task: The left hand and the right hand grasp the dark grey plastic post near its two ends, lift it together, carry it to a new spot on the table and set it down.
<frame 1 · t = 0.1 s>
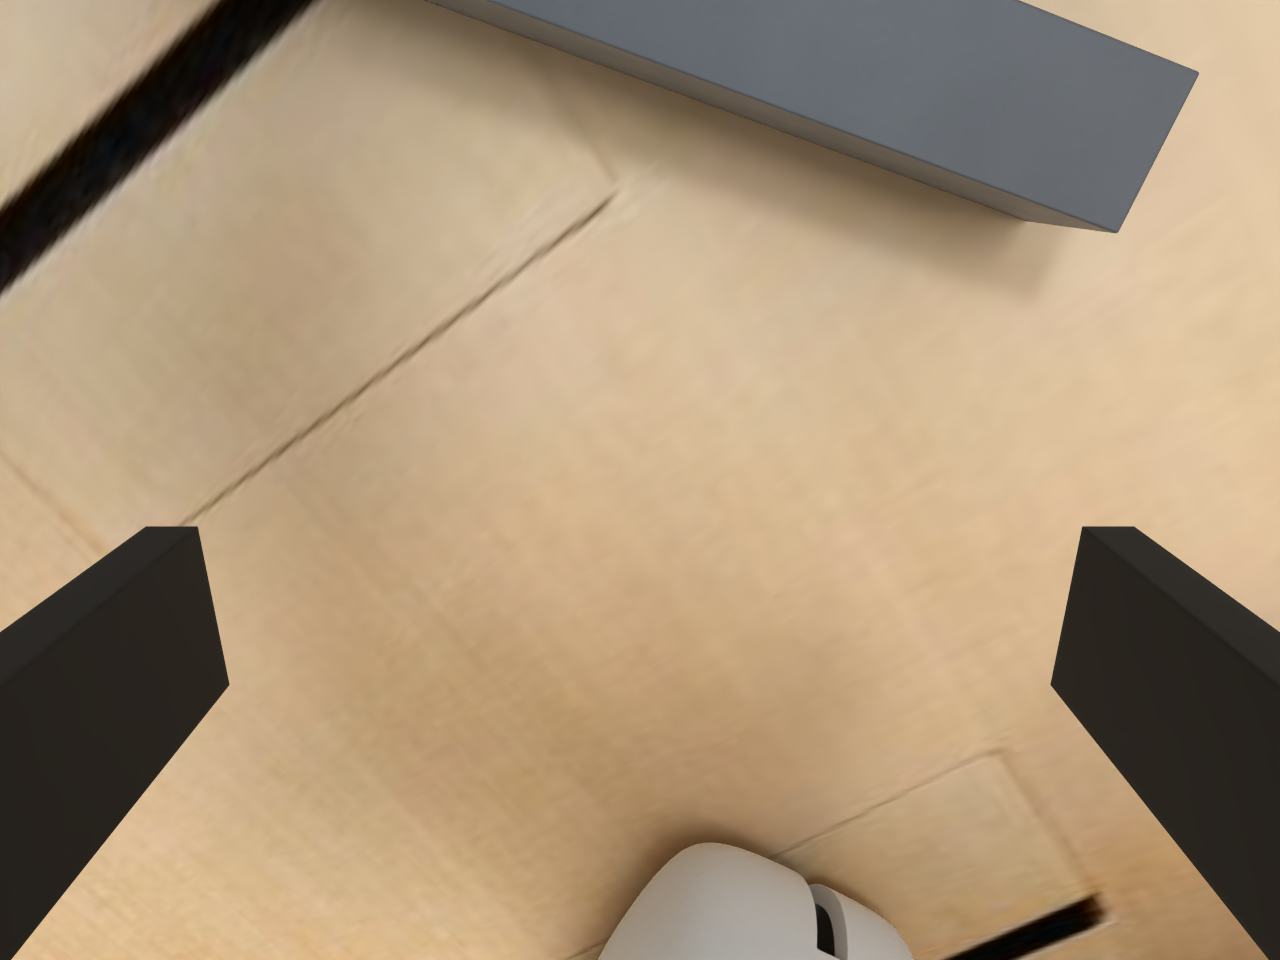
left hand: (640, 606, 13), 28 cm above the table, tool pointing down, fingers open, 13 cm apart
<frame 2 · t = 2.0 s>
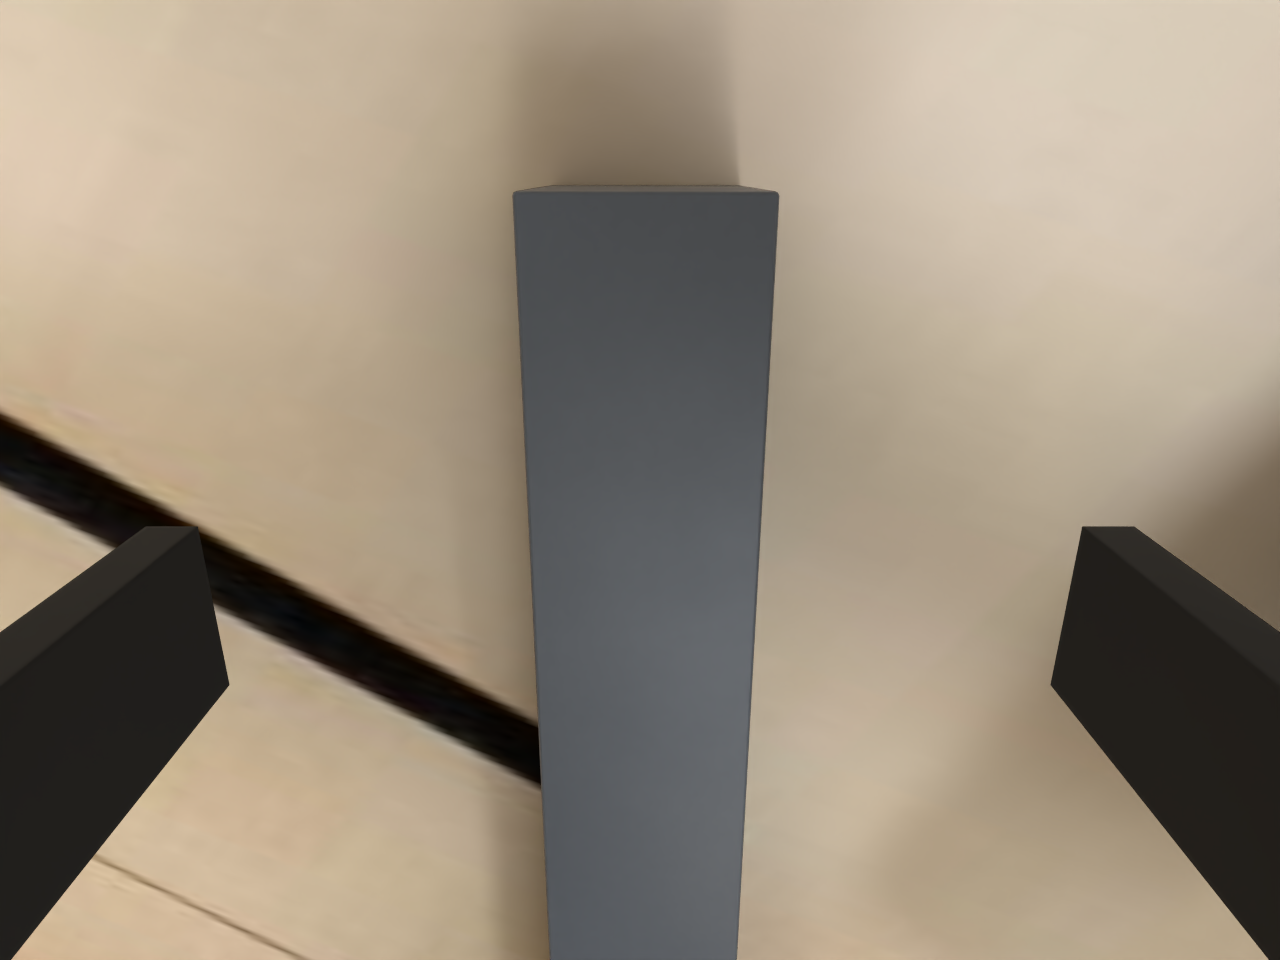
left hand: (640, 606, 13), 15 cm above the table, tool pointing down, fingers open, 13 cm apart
post: (642, 888, 34), on the table
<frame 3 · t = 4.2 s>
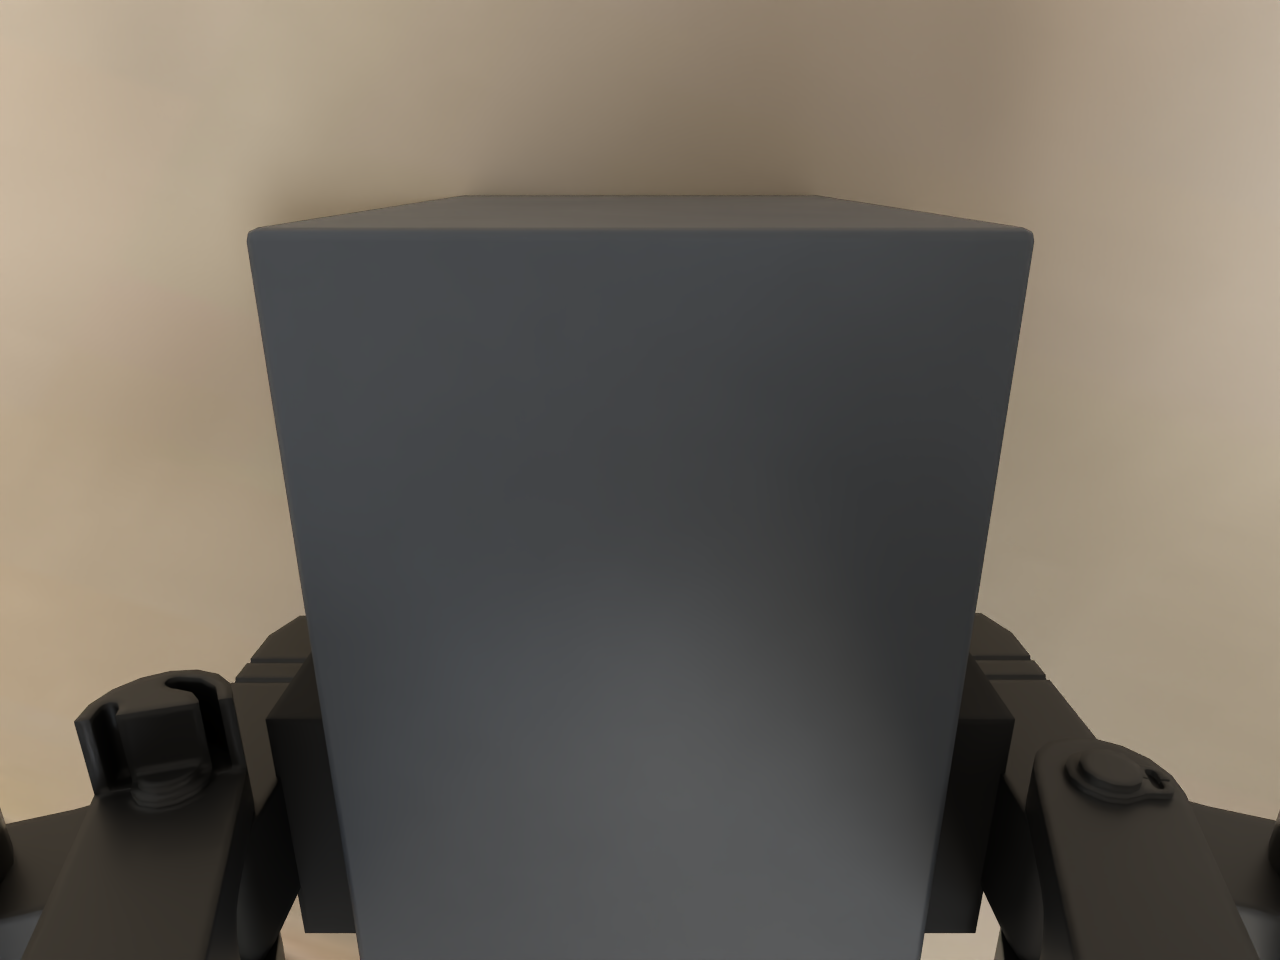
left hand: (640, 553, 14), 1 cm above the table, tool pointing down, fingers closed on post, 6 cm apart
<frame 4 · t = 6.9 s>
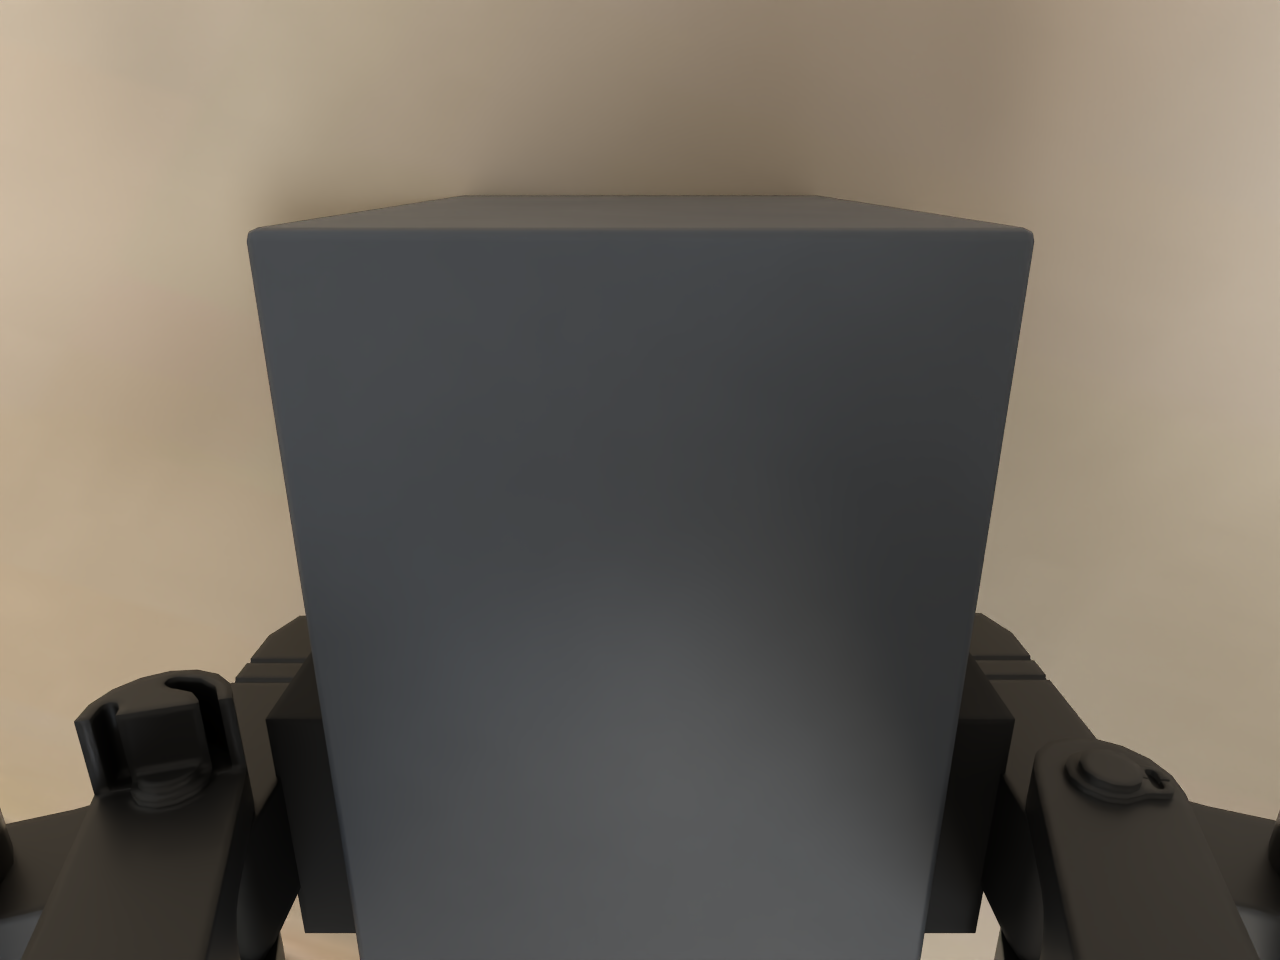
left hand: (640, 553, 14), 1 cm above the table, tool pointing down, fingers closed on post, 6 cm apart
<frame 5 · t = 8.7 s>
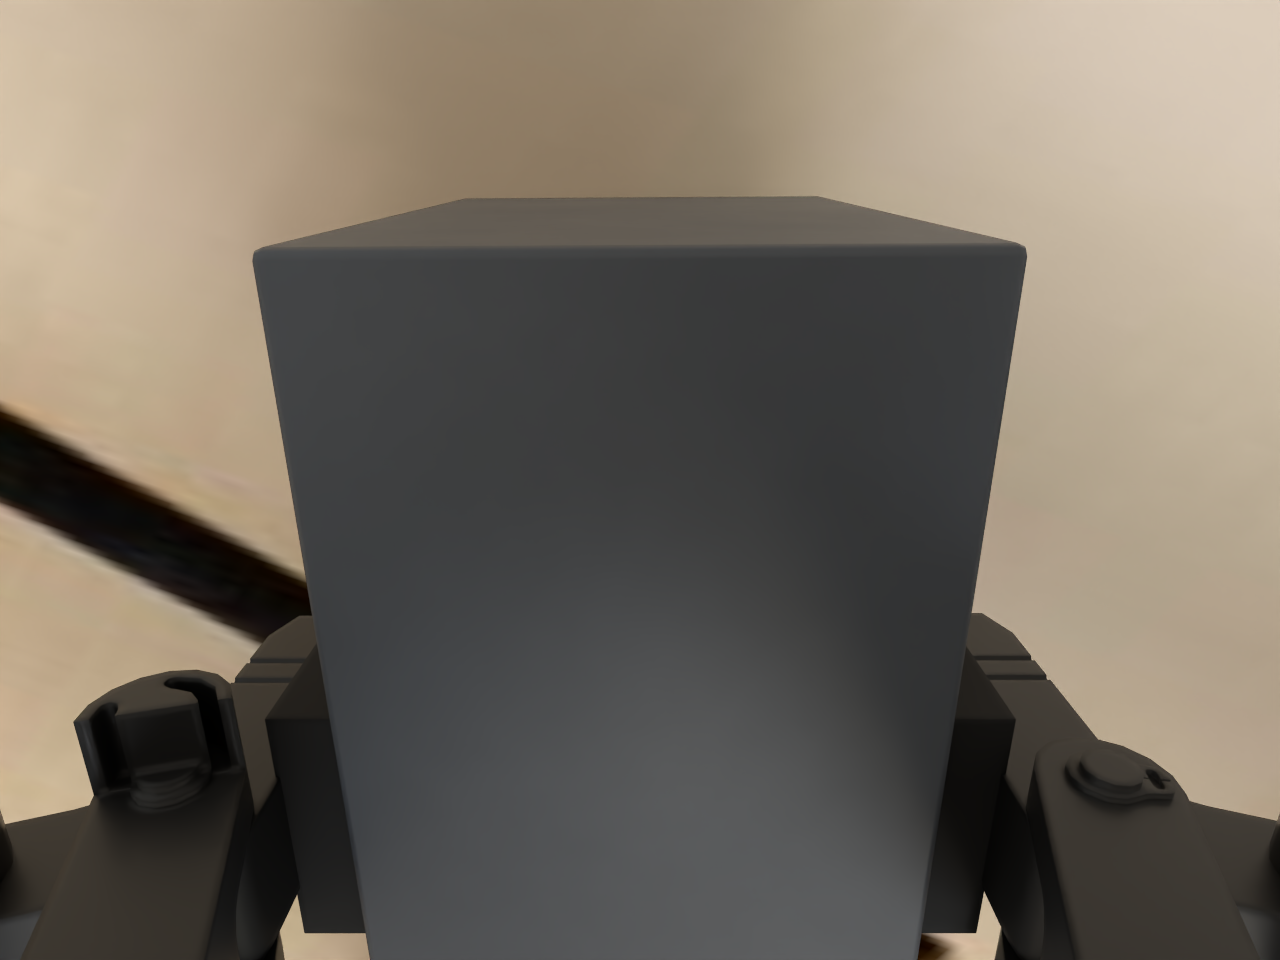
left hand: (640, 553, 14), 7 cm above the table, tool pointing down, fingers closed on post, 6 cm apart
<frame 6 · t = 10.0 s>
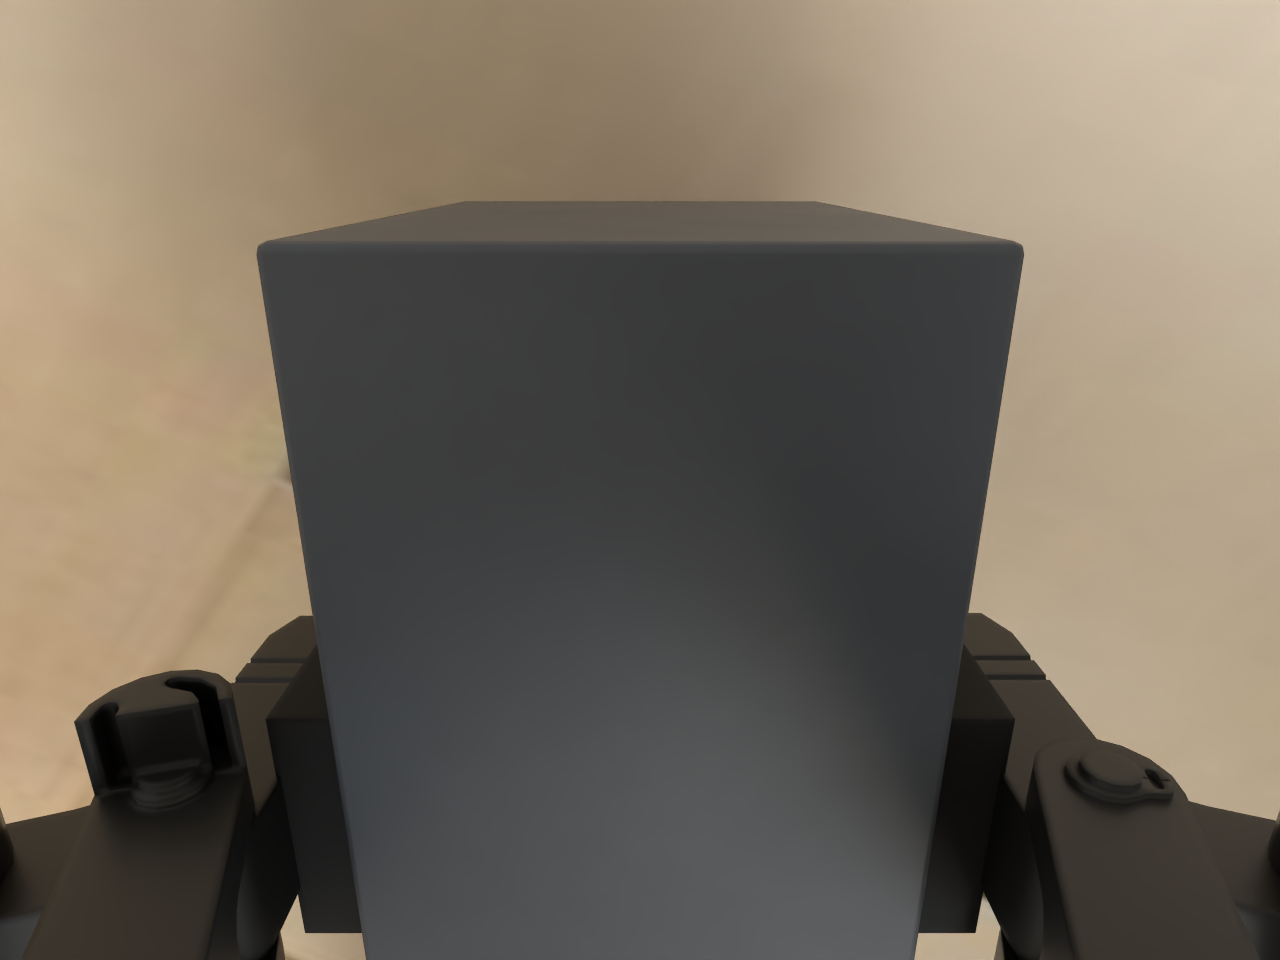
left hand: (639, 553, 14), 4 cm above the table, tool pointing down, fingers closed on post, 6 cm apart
when the left hand's fingers open (1 cm above the table, at t = 10.6 s): post stays where it is, on the table.
when the right hand's fingers open (3 cm above the table, at t = 10.8 s): post stays where it is, on the table.
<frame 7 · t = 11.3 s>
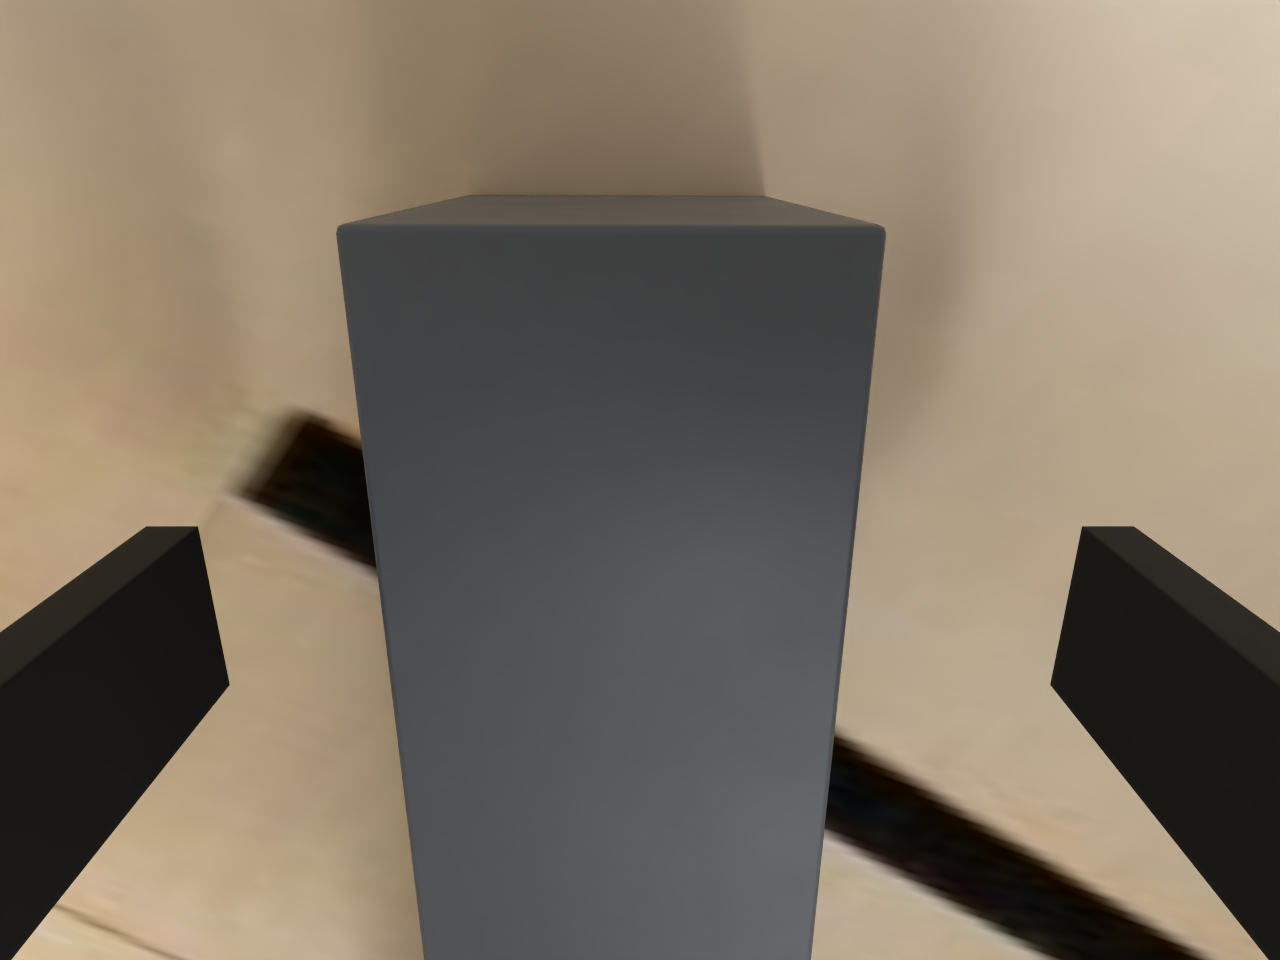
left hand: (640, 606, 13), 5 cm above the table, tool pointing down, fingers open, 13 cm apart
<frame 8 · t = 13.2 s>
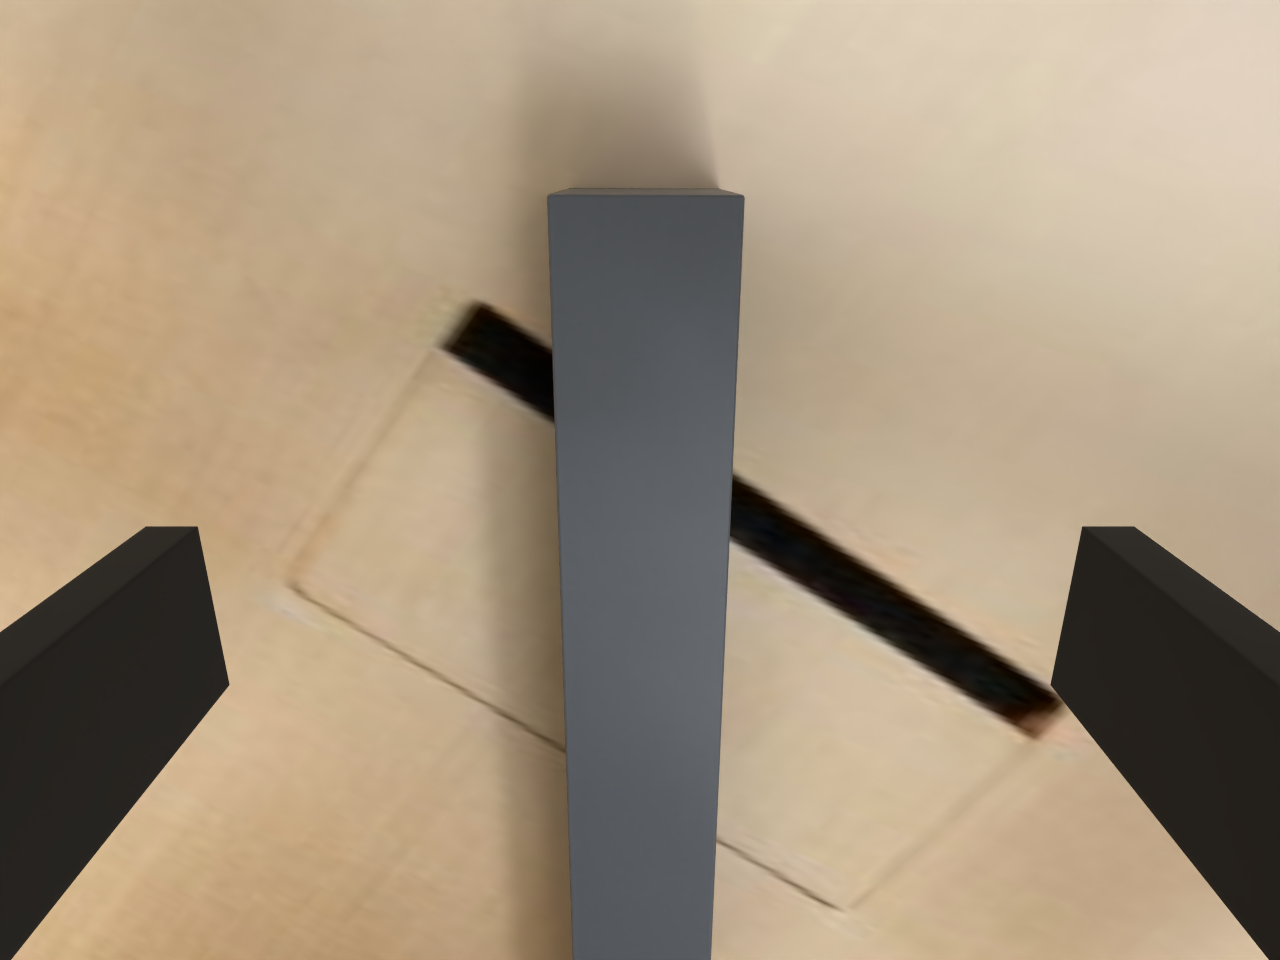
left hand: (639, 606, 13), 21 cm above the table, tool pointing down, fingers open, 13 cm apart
post: (641, 780, 40), on the table
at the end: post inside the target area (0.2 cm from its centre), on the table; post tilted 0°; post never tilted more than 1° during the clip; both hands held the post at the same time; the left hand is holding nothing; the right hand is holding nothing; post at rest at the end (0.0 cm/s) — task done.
